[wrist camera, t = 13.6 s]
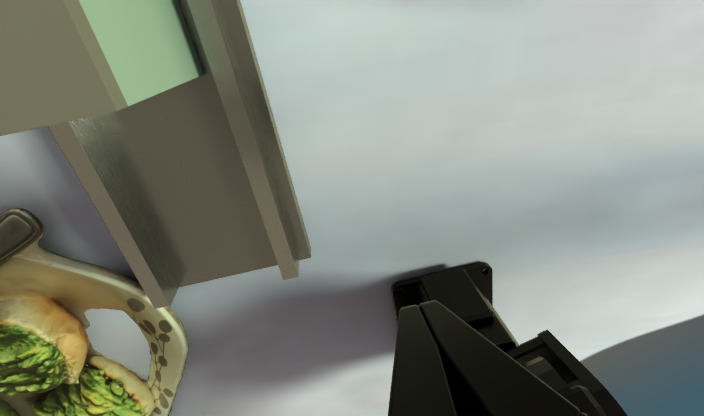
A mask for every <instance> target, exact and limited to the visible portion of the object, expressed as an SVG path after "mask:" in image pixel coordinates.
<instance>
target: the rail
mask: <svg viewBox="0 0 704 416" xmlns="http://www.w3.org/2000/svg"><path fill="white" fill-rule="evenodd" d="M177 1H178V3H179V6H180V9H181V12H182V15H183V17H184V20H185V23H186V26H187V29H188V31H189V34H190V37H191V40H192V43H193V45H194V48H195V51H196V54H197V57H198V59H199V62H200V65H201V68H202V71H203V73H204V75H202V76H199V77H197V78H195V79H192V80H190V81H187V82H185V83H183V84H180V85H178V86H176V87H173V88H171V89H168V90H166V91H164V92H161V93H159V94H157V95H154V96H152V97H149V98H147V99H145V100H142V101H140V102H138V103H135V104H133V105H130V106H128V107H126V108H123V109H121V110H119V111H116V112H111V113H106V114H101V115H97V116H92V117H87V118H83V119H78V120H73V121H68V122H64V123H59V124H54V125H50V126H48V127H49V129H50V130H51V132H52V134H53V135H54V137H55V139H56V141H57V142H58V144H59V146H60V147H61V149H62V151H63V153H64V154H65V156H66V158H67V159H68V161H69V163H70V165H71V166H72V168H73V170H74V171H75V173H76V175H77V177H78V178H79V180H80V182H81V183H82V185H83V187H84V189H85V190H86V192H87V194H88V195H89V197H90V199H91V201H92V202H93V204H94V206H95V207H96V209H97V211H98V213H99V214H100V216H101V218H102V219H103V221H104V223H105V225H106V226H107V228H108V230H109V231H110V233H111V235H112V237H113V238H114V240H115V242H116V243H117V245H118V247H119V249H120V250H121V252H122V254H123V255H124V257H125V259H126V261H127V262H128V264H129V266H130V267H131V269H132V271H133V273H134V274H135V276H136V278H137V279H138V281H139V283H140V285H141V286H142V288H143V290H144V291H145V293H146V295H147V297H148V298H149V300H150V302H151V303H152V305H153V307H154V309H157V308H161V307H166V306H170V305H171V303H172V300H173V298H174V296H175V294H176V292H177V290H178V288H179V287H182V286H186V285H191V284H195V283H200V282H204V281H209V280H213V279H217V278H222V277H226V276H231V275H235V274H240V273H244V272H249V271H253V270H257V269H262V268H266V267H271V266H275V265H278V266H279V269H280V271H281V274H282V277H283V280H285V279H290V278H294V277H298V270H299V260H302V259H306V258H311V248H310V244H309V241H308V237H307V234H306V230H305V227H304V223H303V220H302V216H301V213H300V209H299V206H298V202H297V198H296V195H295V191H294V188H293V184H292V181H291V177H290V174H289V170H288V167H287V163H286V160H285V156H284V153H283V149H282V146H281V142H280V139H279V135H278V132H277V128H276V125H275V121H274V118H273V114H272V111H271V107H270V104H269V100H268V97H267V93H266V90H265V86H264V83H263V79H262V76H261V72H260V69H259V65H258V62H257V58H256V55H255V51H254V48H253V44H252V41H251V37H250V34H249V30H248V27H247V23H246V20H245V16H244V13H243V9H242V6H241V2H240V0H177Z"/></svg>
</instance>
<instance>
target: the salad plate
mask: <svg viewBox="0 0 704 416" xmlns="http://www.w3.org/2000/svg"><path fill="white" fill-rule="evenodd" d="M43 233H44V226H43V224H42V223H41V222H40V220H39V219H38V218H37V217H36V216H35V215H33V214H32V213H31V212H29V211H27V210H25V209H21V208H11V209H8V210H7V211H5V212H4V213H3V214H1V215H0V416H169V413H170V412H171V408H172V402H173V399H174V397H175V394H176V391H177V388H178V385H179V382H180V380H181V378H182V375H183V371H184V368H185V362H186V357H187V353H188V348H189V344H188V340H187V336H186V333H185V331H184V328H183V325H182V323H181V321H180V320H179V318H178V317H177V315H176V314H175V313H174V312H173V310H172V309H171V308H170V307H169V306H166V307H161V308H157V309H154V307H153V305H152V303H151V302H150V300H149V298H148V297H147V295H146V293H145V291H144V290H143V288H142V286H141V285H140V284H138V283H136V282H135V281H133V280H131V279H130V278H128V277H126V276H124V275H122V274H120V273H118V272H115V271H112V270H110V269H107V268H104V267H100V266H97V265H93V264H89V263H85V262H81V261H77V260H73V259H69V258H66V257H62V256H59V255H56V254H53V253H51V252H49V251H47V250H44V249H42V248H41V247H39V245H38V242H39V240H40V239H41V238H42V236H43ZM92 308H95V309H100V308H106V309H116V310H122V311H124V312H126V313H127V314H128V315H129V316H130V317H131V318H132V319H133V320H134V321H135V322H136V323H137V325H138V326H139V327H140V329H141V331H142V333H143V334H144V336H145V337H146V339H147V341H148V344H149V347H150V354H151V357H152V358H151V365H150V373H149V377H148V379H147V380H142V379H141V378H139V377H138V376H137V374H136V373H135V372H133V371H131V370H128V369H127V368H125V367H124V366H122V365H120V364H118V363H116V362H114V361H112V360H110V359H107V358H106V357H104V356H103V355H102V354H100V353H98V352H97V351H95V350H94V349H93V348H92V345H91V343H90V342H89V339H88V335H87V333H86V331H85V329H86V328H87V327H89V326H90V323H89V322H88V320H87V318H86V317H85V315H84V312H85V311H86V310H88V309H92Z"/></svg>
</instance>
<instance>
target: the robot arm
mask: <svg viewBox="0 0 704 416" xmlns="http://www.w3.org/2000/svg"><path fill="white" fill-rule="evenodd" d="M484 269H485V270H484ZM482 270H484V271H483V272H481V271H482ZM398 289H402V290H400V291H397V290H398ZM391 291H392V297H393V303H394V309H395V314H396V320H397V326H398V329H397V338H396V347H395V356H394V365H393V374H392V383H391V392H390V401H389V410H388V416H627V415H626V413H625V412H624V410H623V409H622V408H621V406H620V405H619V404H618V403H617V401H616V400H615V399H614V398H613V396H612V395H611V394H610V393H609V392H608V391H607V389H606V388H605V387H604V386H603V385H602V384H601V383H600V382H599V381H598V380H597V379H596V378H595V377H594V376H593V375H592V374H591V373H590V372H589V371H588V370H587V369H586V368H585V367H584V366H583V365H582V364H581V363H580V362H579V361H578V360H577V359H576V358H575V357H574V356H573V355H572V354H571V353H570V352H569V351H568V350H567V349H566V348H565V347H564V346H563V345H562V344H561V343H560V342H559V341H558V340H557V339H556V338H555V337H554V336H553V335H552V334H551V333H550V332H549V331H548V330H546V331H543V332H541V333H539V334H537V335H538V336H537V337H535V338H533V339H531V340H529V341H527V342H525V343H523V344H520V345H519V344H518V343H517V341H516V340H515V338H514V337H513V335H512V334H511V332H510V331H509V330H508V328H507V327H506V325H505V324H504V322H503V321H502V319H501V318H500V317H499V315H498V314H497V312H496V311H495V309H494V308H493V306H492V268H491V267H490V266H489V265H488V264H487V263H485V262H482V263H478V264H473V265H469V266H464V267H460V268H456V269H451V270H447V271H443V272H438V273H434V274H429V275H425V276H421V277H416V278H412V279H408V280H403V281H399V282H396V283H394V284H393V285H392V287H391Z"/></svg>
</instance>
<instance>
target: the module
mask: <svg viewBox="0 0 704 416" xmlns="http://www.w3.org/2000/svg"><path fill="white" fill-rule="evenodd" d="M202 75H204V73H203V71H202V68H201V65H200V62H199V59H198V57H197V54H196V51H195V48H194V45H193V43H192V40H191V37H190V34H189V31H188V29H187V26H186V23H185V20H184V17H183V15H182V12H181V9H180V6H179V3H178V1H177V0H0V136H3V135H7V134H12V133H17V132H21V131H26V130H31V129H35V128H40V127H45V126H50V125H54V124H59V123H64V122H68V121H73V120H78V119H83V118H87V117H92V116H97V115H101V114H106V113H111V112H116V111H119V110H121V109H123V108H126V107H128V106H130V105H133V104H135V103H138V102H140V101H142V100H145V99H147V98H149V97H152V96H154V95H157V94H159V93H161V92H164V91H166V90H168V89H171V88H173V87H176V86H178V85H180V84H183V83H185V82H187V81H190V80H192V79H195V78H197V77H199V76H202Z"/></svg>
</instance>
